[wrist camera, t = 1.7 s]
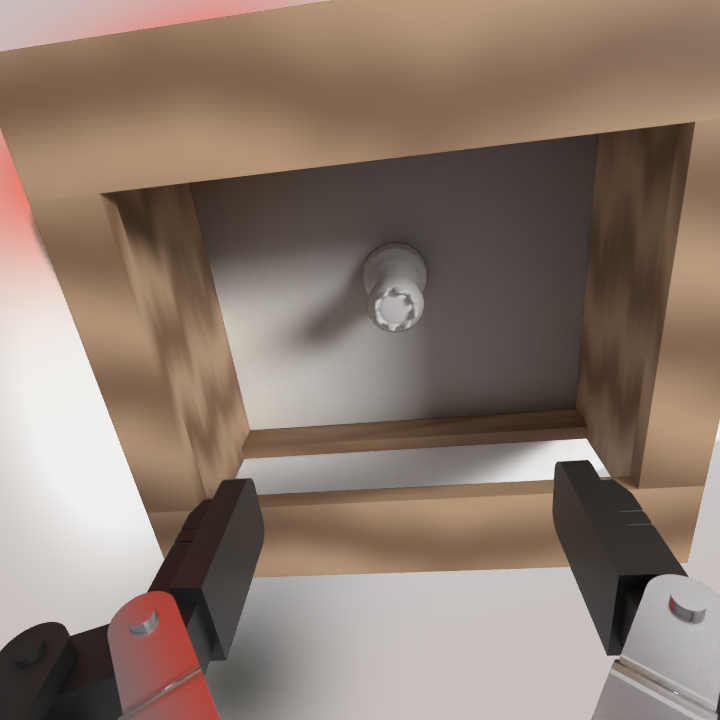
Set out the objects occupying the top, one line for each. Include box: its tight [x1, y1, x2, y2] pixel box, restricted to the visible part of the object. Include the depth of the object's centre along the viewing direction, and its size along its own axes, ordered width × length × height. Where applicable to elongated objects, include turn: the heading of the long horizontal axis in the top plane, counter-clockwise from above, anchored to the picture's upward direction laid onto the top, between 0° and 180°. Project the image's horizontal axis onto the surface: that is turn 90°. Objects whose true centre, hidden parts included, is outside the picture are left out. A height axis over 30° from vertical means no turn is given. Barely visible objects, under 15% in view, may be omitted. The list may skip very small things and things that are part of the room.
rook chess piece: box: [363, 243, 427, 332], centre depth 30 cm, size 4×4×8 cm
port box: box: [0, 0, 720, 577], centre depth 28 cm, size 26×28×14 cm
